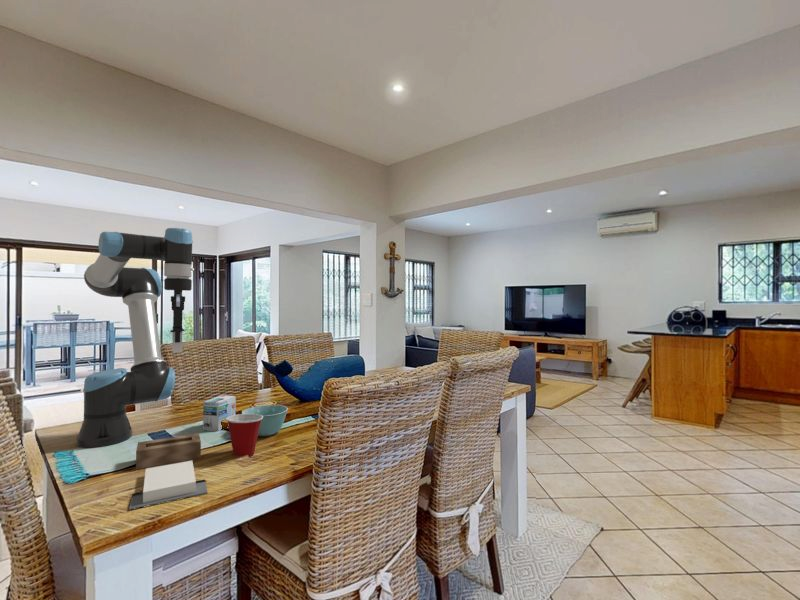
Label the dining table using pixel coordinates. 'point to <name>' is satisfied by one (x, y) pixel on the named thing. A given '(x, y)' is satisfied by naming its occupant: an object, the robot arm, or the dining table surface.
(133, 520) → the dining table surface
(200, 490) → the rubber mat
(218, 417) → the light bulb box
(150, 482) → the rectangular insert block
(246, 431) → the plastic cup
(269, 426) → the bowl
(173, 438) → the slot box
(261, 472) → the dining table surface
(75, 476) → the dining table surface
